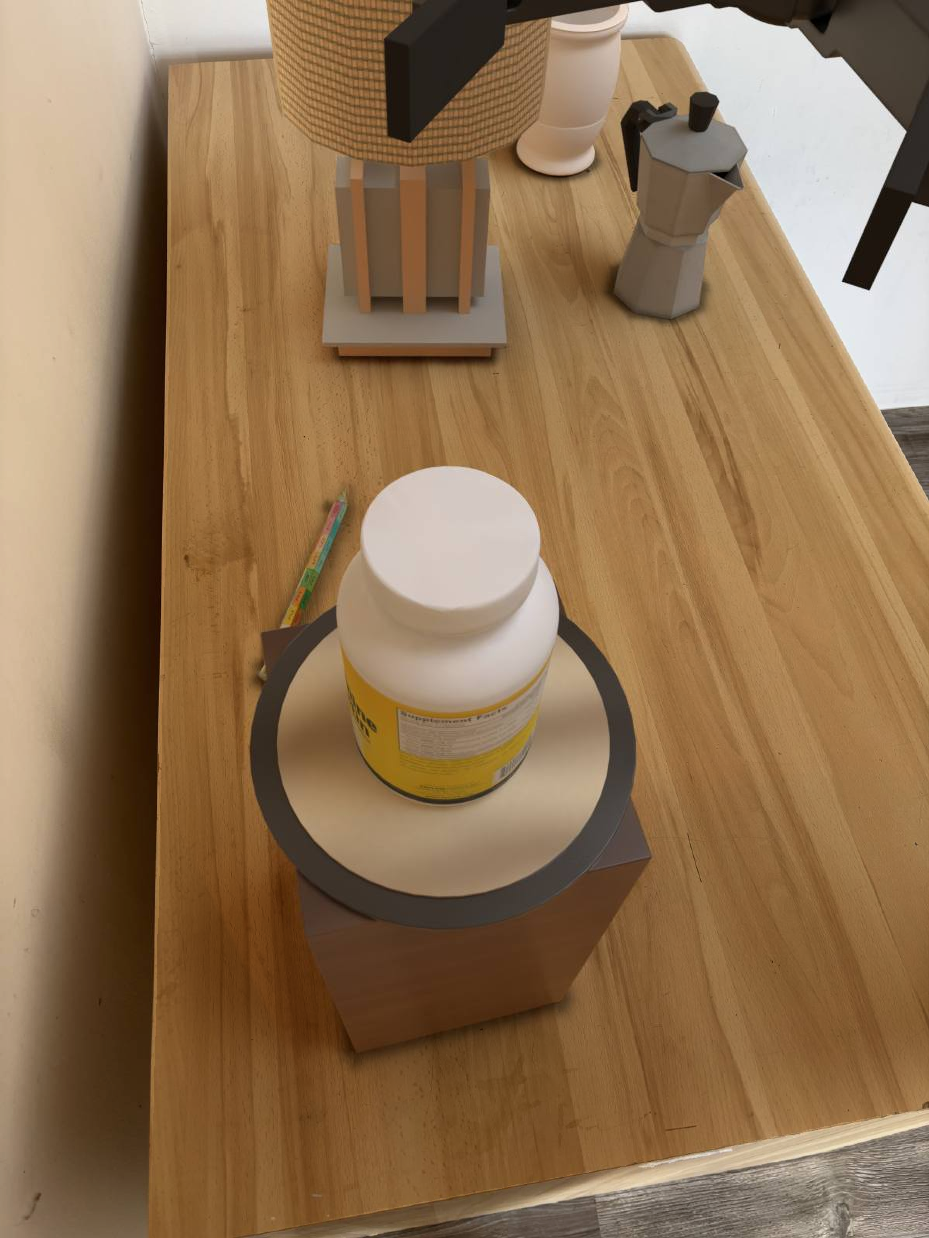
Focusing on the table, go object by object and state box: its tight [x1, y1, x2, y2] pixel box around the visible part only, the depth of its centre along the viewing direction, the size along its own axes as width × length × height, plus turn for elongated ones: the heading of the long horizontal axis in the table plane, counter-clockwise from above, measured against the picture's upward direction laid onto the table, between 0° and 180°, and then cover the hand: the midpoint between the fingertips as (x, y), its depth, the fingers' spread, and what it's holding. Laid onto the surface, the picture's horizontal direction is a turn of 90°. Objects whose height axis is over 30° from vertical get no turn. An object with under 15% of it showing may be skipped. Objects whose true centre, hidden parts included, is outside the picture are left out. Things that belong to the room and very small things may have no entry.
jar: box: [516, 3, 630, 177], centre depth 94 cm, size 11×10×15 cm
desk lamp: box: [265, 0, 552, 357], centre depth 71 cm, size 20×20×35 cm
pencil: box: [258, 485, 350, 682], centre depth 69 cm, size 1×1×18 cm
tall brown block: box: [248, 578, 653, 1054], centre depth 45 cm, size 14×14×27 cm
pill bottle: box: [336, 465, 559, 806], centre depth 29 cm, size 6×6×12 cm
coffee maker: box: [612, 91, 749, 320], centre depth 81 cm, size 15×9×18 cm, turn 32°
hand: (622, 163), depth 25 cm, fingers open, 13 cm apart
